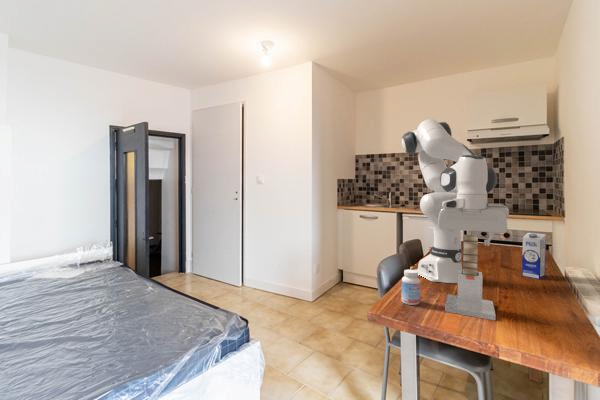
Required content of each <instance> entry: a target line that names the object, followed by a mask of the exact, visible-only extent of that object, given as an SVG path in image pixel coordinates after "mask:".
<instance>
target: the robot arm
mask: <svg viewBox="0 0 600 400" xmlns="http://www.w3.org/2000/svg"><path fill="white" fill-rule="evenodd" d="M452 134H453V133H452V129H451V127H450V125H449V123H447V122H446V121H441V122H438V121H437V120H435V119H432V118H430V119H429V118H428V119H425V120H423V121H421V122H420V123H419V124H418V126H417V128H416V129H414V130H411V131H408V132H405V133H404V134H403V135H402V137H401V146H402V148H403V150H404V152H405V153H407V154H409V155H410V154H411V155H412V154H416V153H418V157H417V158H418V165H419V168H420V171H421V174H422V178H423V180H424V182H425V183H424V184H425V185H426V187H427V188H428V189H429V190H431V191H433V192H430V193H427V194H424V195H422V197H421V199H420V201H419V208H420V211H421V213H422V214H423V215H424V216H426V217H427V218H428V220H429V222H430V223H431V227H432V232H433V246H431V247H429V248H428V251H430V252H429V253H430V254H428V255H426V256H425V257H423V258H422V259H419V261H418V265H417V266H418V267H417V268H416V269H414V270H415V271H417V272H418V276H419V275H420V276H419V277H421V276H422V278H423V277H424V278H423V279H425V278H426V280H428V281H430V282H436V283H437V282H438V283H445V284H446V283H447V284H458V270H463V266H462V265H463V264H462V259H463V249H462V231H463V232H464V231H466V232H467V231H468V232H482V233H488V236H489V237H488V238H487V239H484V241H483V242H484V243H483V245H484V246H487V247H490V246H491V245H490V244H491V241H492V239H493V238H494V236H495V233H496V234H497V233H498V234H505V233H506V232H508V220H507V218H508V217H509V215H510V209H509V207H508V206H507V205H504V204H503V203H488V194H489V193H490V192H491V191H493V190H494V189H495V188H496V186H497V183H498V175H497V173H496V171H495V170H494V169H493V167H492V166H490V165H488V162H487V159H486V157H485V156H483V155H480V154H475V153H473V151H471V149H469V148H468V147H467V146H466V145H465V144H464V143H462V142H460V141H458V140H456V138H454V137H453V135H452ZM445 160H447V161H453V162H455V163H454V164H453V165H451V166H447V165H446V161H445Z"/></svg>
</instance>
